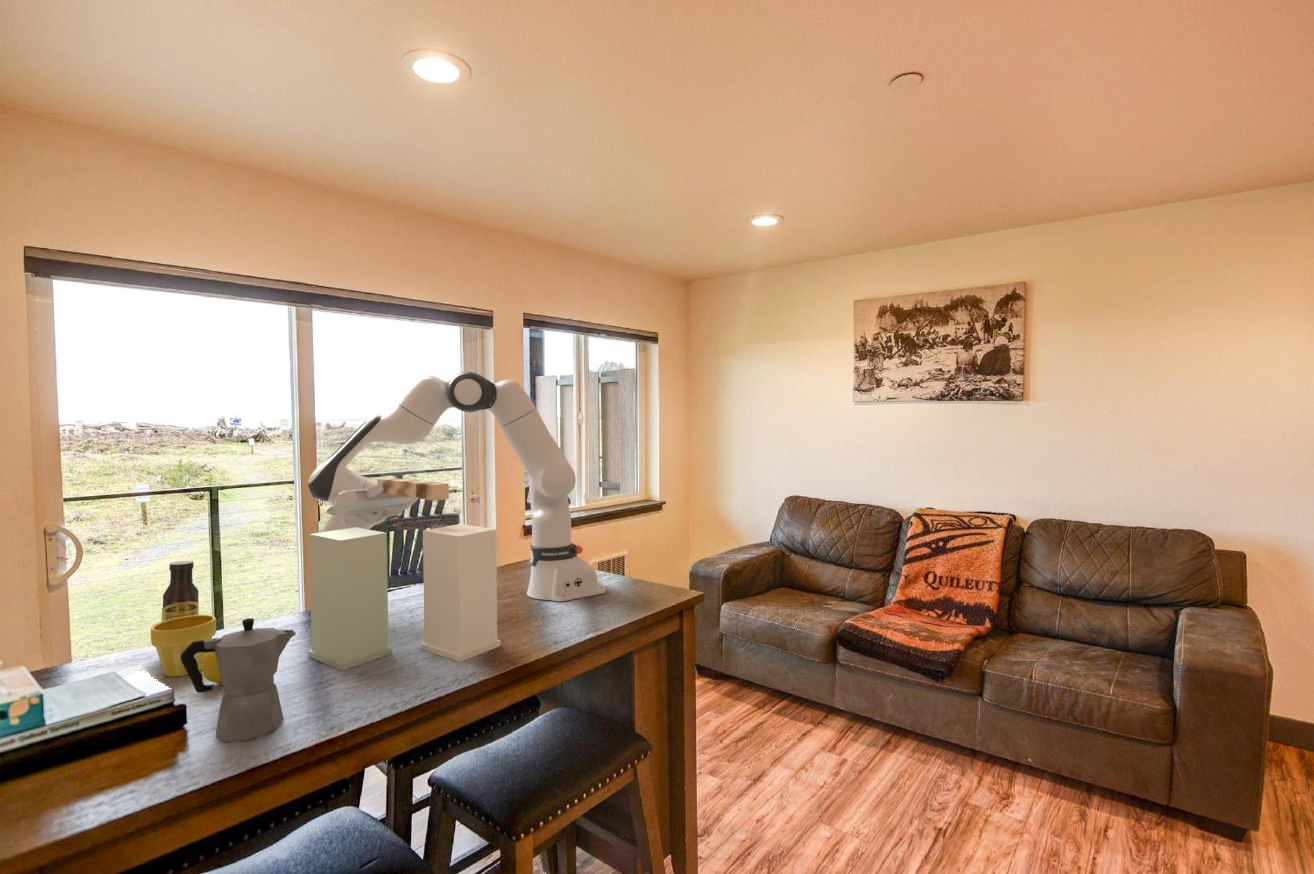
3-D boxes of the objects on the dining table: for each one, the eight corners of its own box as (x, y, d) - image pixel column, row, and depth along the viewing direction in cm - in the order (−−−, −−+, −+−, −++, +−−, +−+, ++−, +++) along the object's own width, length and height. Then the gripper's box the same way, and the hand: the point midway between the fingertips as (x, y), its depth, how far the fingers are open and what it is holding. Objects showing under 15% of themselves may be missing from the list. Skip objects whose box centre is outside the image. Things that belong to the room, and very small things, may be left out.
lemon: (195, 688, 116) (194, 645, 116) (226, 676, 121) (225, 636, 121) (215, 693, 114) (214, 650, 114) (245, 681, 119) (244, 640, 119)
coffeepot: (296, 706, 109) (294, 604, 108) (298, 729, 101) (296, 619, 100) (186, 730, 101) (183, 620, 100) (179, 757, 93) (176, 637, 92)
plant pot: (161, 665, 127) (160, 617, 127) (222, 657, 131) (221, 611, 131) (144, 685, 118) (142, 633, 117) (210, 675, 122) (209, 626, 122)
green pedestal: (308, 656, 132) (306, 534, 131) (358, 641, 141) (356, 526, 140) (341, 670, 124) (339, 541, 123) (391, 653, 133) (390, 532, 133)
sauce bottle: (162, 663, 128) (159, 567, 127) (160, 655, 133) (158, 562, 132) (201, 655, 132) (199, 562, 132) (198, 647, 137) (196, 557, 136)
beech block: (376, 493, 149) (376, 478, 149) (390, 492, 152) (390, 477, 152) (434, 500, 136) (434, 484, 136) (448, 498, 139) (448, 483, 139)
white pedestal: (421, 649, 136) (419, 530, 135) (462, 634, 145) (461, 523, 144) (459, 662, 129) (458, 536, 128) (500, 645, 138) (499, 529, 137)
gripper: (319, 502, 147) (347, 476, 140) (398, 493, 164) (425, 470, 157) (327, 526, 146) (355, 501, 139) (405, 515, 163) (433, 492, 156)
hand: (393, 484), depth 148 cm, fingers closed on beech block, 3 cm apart
